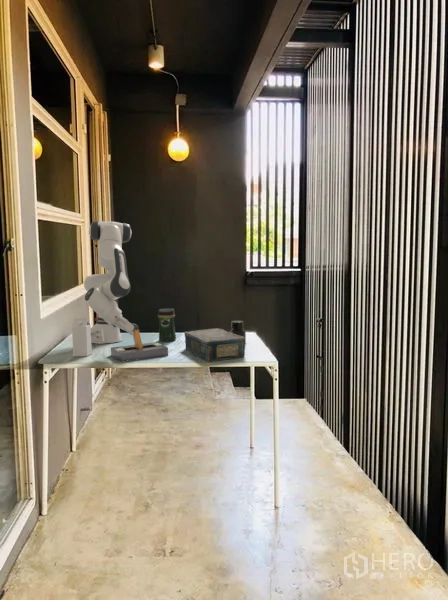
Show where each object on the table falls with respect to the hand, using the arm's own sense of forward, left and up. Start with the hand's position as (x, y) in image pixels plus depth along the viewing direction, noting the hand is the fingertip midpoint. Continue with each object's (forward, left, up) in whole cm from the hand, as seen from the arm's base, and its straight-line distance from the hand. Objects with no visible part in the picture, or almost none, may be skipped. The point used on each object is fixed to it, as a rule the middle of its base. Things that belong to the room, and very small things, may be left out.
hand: (132, 333), depth 234 cm
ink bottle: (+37, +48, -12) cm, 61 cm away
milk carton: (-26, -6, -12) cm, 29 cm away
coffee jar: (-4, +41, -12) cm, 43 cm away
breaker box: (+2, +3, -11) cm, 12 cm away
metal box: (+35, +20, -12) cm, 42 cm away
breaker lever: (+2, +3, -7) cm, 8 cm away
